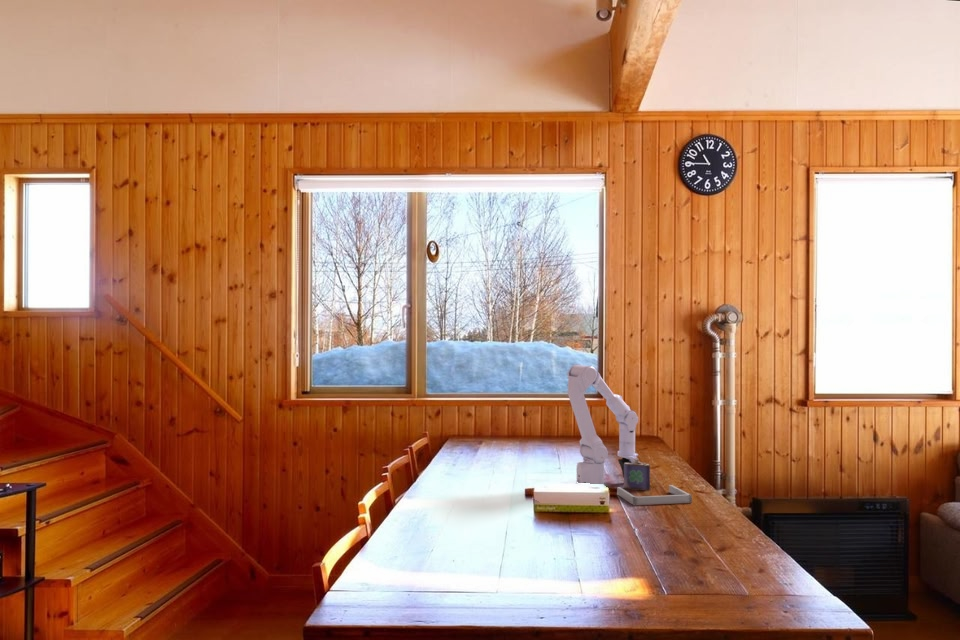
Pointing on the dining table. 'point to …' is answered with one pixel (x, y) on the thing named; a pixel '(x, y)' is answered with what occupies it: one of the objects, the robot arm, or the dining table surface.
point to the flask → (637, 475)
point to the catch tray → (657, 497)
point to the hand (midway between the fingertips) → (627, 479)
